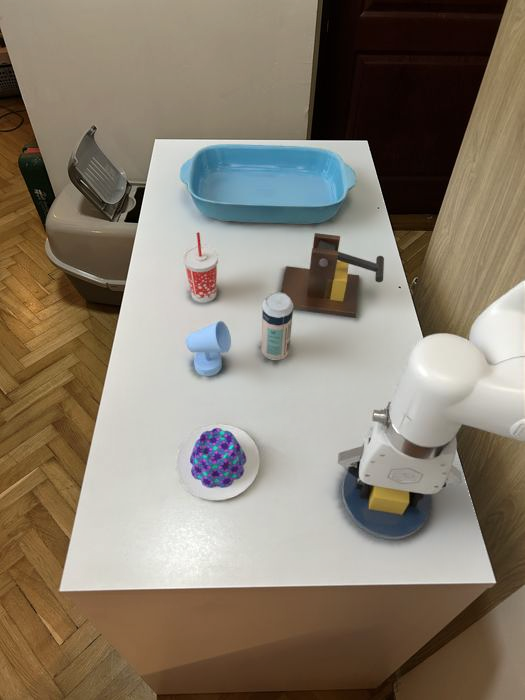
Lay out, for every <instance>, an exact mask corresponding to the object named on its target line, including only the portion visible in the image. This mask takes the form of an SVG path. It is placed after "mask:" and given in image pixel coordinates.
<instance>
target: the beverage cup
mask: <svg viewBox="0 0 525 700" xmlns="http://www.w3.org/2000/svg"><path fill="white" fill-rule="evenodd" d="M196 240H197V241H196V243H197V245H193V246H190V247H189V248H187V249H186V250H185V251H184V253H183V254H182V263H183V265H184V267H185V271H186V276H187V281H188V285H189V289H190V294H191V297H192V299H193V300H194V301H195V302H198V303H209V302H212V301H213V300H214V299H215V298H216V296H217V282H218V281H217V275H218V274H217V272H218V271H217V269H218V268H217V267H218V264H219V254H218V252H217V250H216V249H214V248H213V247H212V246H208V245H206V244H205V245H204V244H203V245H202V243H201V234H200V232H196Z"/></svg>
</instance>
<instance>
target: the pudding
mask: <svg viewBox="0 0 525 700" xmlns="http://www.w3.org/2000/svg"><path fill="white" fill-rule="evenodd" d="M260 463H261V459H260V452H259V449H258V446H257V445H256V442H255V441H254V440H253V438H252V437H251V436H250V435H249V433H247V432H246V431H244V430H242V429H241V428H239V427H236V426H234V425H231V424H224V423H222V424H221V423H218V424H217V423H216V424H209V425H205V426H203V427H201V428H198V429H196V430H195V431H193V432H191V433H190V434H189V435H188V436H187V437H186V438H185V439H184V440H183V441H182V443H181V445H180V446H179V448H178V451H177V454H176V458H175V470H176V475H177V477H178V479H179V481H180V483H181V485H182V486H183V487H184V488H185V489H186V490H187V491H188V492H189V493H191V494H192V495H194V496H196V497H198V498H200V499H203V500H208V501H225V500H229V499H232V498H233V497H237V496H239V495H240V494H242V493H243V492H245V491H246V490H247V489H248V488H249V487H250V486H251V485H252V484H253V482H254V481H255V479H256V477H257V475H258V474H259V473H258V472H259V469H260Z"/></svg>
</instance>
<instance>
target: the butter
mask: <svg viewBox="0 0 525 700" xmlns="http://www.w3.org/2000/svg"><path fill="white" fill-rule="evenodd" d="M349 265H350V264H348V263H345V262H342V261H339V260H337V265H336V271H335V277H334V280H333V282H332V284H333V285H332V284H331V285H330V283H331V282H329V281H328V279H327V282H328V283H327V284H326V285H327V286H326V288H327V289H326V290H325V293H326V294H325V295H326V296H327V298H328V297H329V296H330V298H329V300H337V301H343V299H344V294H345V289H346V284H347V276H348V274H349ZM328 285H329V286H328ZM331 286H332V290H331ZM328 288H330V289H329V291H330V292H328ZM329 293H330V294H331V295H330V294H329ZM327 294H329V296H328V295H327ZM326 296H324V298H326Z"/></svg>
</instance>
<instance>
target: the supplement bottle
mask: <svg viewBox="0 0 525 700" xmlns="http://www.w3.org/2000/svg"><path fill="white" fill-rule="evenodd" d="M261 309H262V310H261V311H262V313H261V316H262V317H261V347H260V352H261V353H262V355H263V356H264V357H265V358H267V359H269V360H272V361H280V360H283V359H285V358H286V357H287V356H288V355H289V354H290V346H291V338H292V337H291V336H292V324H293V313H294V310H293V303H292V301H291V299H290V298H289V297H288V296H287V295H286V294H284V293H281V292H279V291H276V292H271V293H269V294H268V295H267V296H265V298H264V300H263V301H262V304H261Z"/></svg>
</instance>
